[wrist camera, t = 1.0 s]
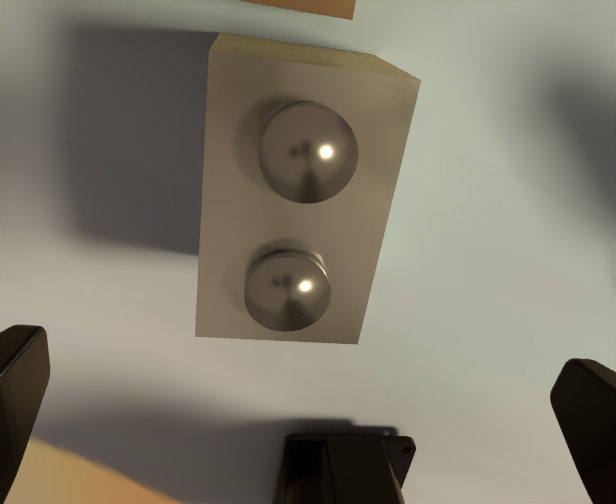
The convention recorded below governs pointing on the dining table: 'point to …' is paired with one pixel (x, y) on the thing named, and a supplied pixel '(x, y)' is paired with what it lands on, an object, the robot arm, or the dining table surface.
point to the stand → (315, 6)
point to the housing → (296, 187)
